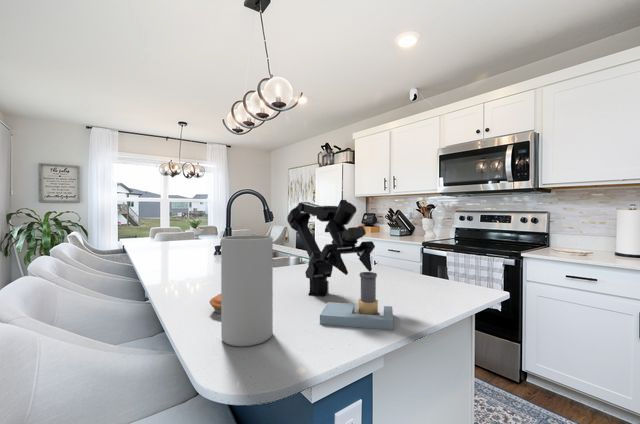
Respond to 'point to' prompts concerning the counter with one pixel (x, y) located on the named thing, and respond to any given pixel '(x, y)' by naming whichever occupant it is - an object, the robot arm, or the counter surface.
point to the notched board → (355, 317)
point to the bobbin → (368, 294)
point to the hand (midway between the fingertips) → (359, 272)
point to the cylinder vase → (246, 289)
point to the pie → (216, 303)
